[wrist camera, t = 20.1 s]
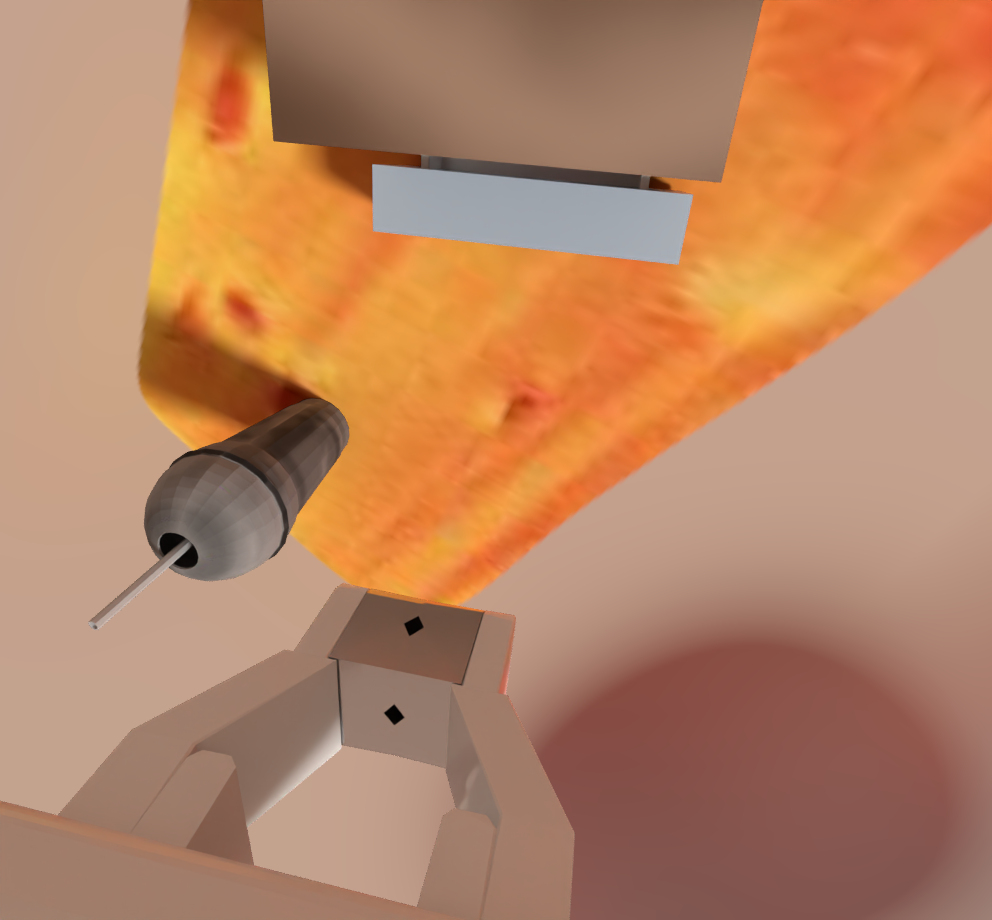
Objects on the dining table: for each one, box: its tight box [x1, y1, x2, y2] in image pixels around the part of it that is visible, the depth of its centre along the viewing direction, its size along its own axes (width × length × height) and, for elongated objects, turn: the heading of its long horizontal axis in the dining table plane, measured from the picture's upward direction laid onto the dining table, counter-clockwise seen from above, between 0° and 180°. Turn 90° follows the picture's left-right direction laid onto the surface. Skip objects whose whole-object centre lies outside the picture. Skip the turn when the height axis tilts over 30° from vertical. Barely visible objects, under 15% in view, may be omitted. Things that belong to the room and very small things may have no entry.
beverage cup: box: [88, 398, 349, 630], centre depth 33 cm, size 7×7×20 cm
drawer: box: [372, 155, 693, 264], centre depth 28 cm, size 14×15×6 cm
